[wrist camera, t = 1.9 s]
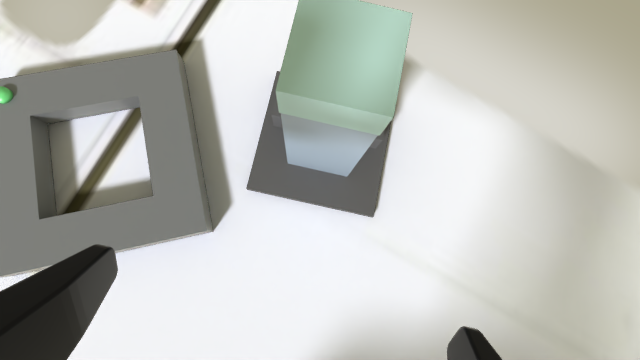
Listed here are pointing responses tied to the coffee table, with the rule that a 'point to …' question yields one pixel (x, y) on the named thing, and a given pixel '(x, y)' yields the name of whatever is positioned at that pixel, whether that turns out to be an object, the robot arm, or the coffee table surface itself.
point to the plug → (339, 80)
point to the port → (112, 220)
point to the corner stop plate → (314, 171)
